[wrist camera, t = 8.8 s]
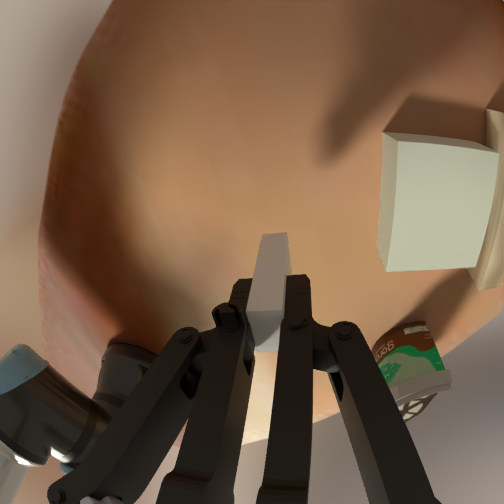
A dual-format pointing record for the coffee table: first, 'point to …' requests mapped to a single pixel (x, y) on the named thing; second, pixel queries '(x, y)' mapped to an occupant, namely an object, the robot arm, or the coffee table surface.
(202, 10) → the coffee table surface
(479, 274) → the beige ridged bar
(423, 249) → the block
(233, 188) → the coffee table surface
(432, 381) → the food container
